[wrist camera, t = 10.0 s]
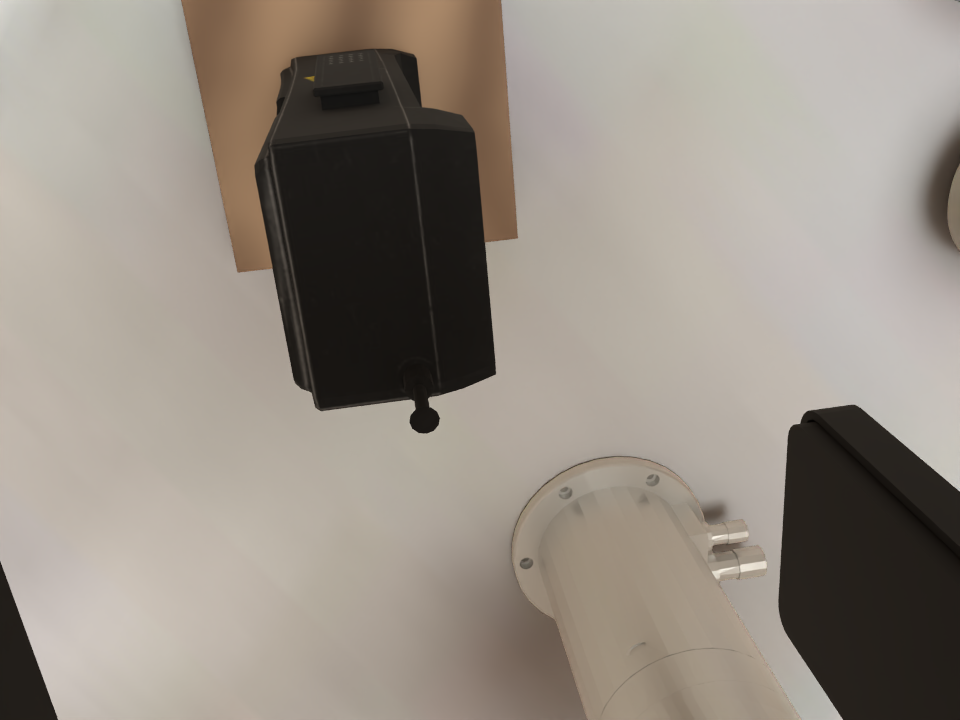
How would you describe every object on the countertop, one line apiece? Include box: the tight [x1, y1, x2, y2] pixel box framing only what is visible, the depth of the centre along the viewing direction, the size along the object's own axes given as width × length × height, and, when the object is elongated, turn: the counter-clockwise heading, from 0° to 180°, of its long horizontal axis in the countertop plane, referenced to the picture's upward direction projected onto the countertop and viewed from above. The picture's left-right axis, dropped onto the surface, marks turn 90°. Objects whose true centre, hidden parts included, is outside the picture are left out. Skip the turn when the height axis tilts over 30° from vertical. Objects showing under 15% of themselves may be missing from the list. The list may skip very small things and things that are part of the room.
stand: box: [181, 0, 518, 272], centre depth 43 cm, size 14×14×4 cm
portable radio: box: [254, 49, 496, 433], centre depth 30 cm, size 8×6×25 cm
